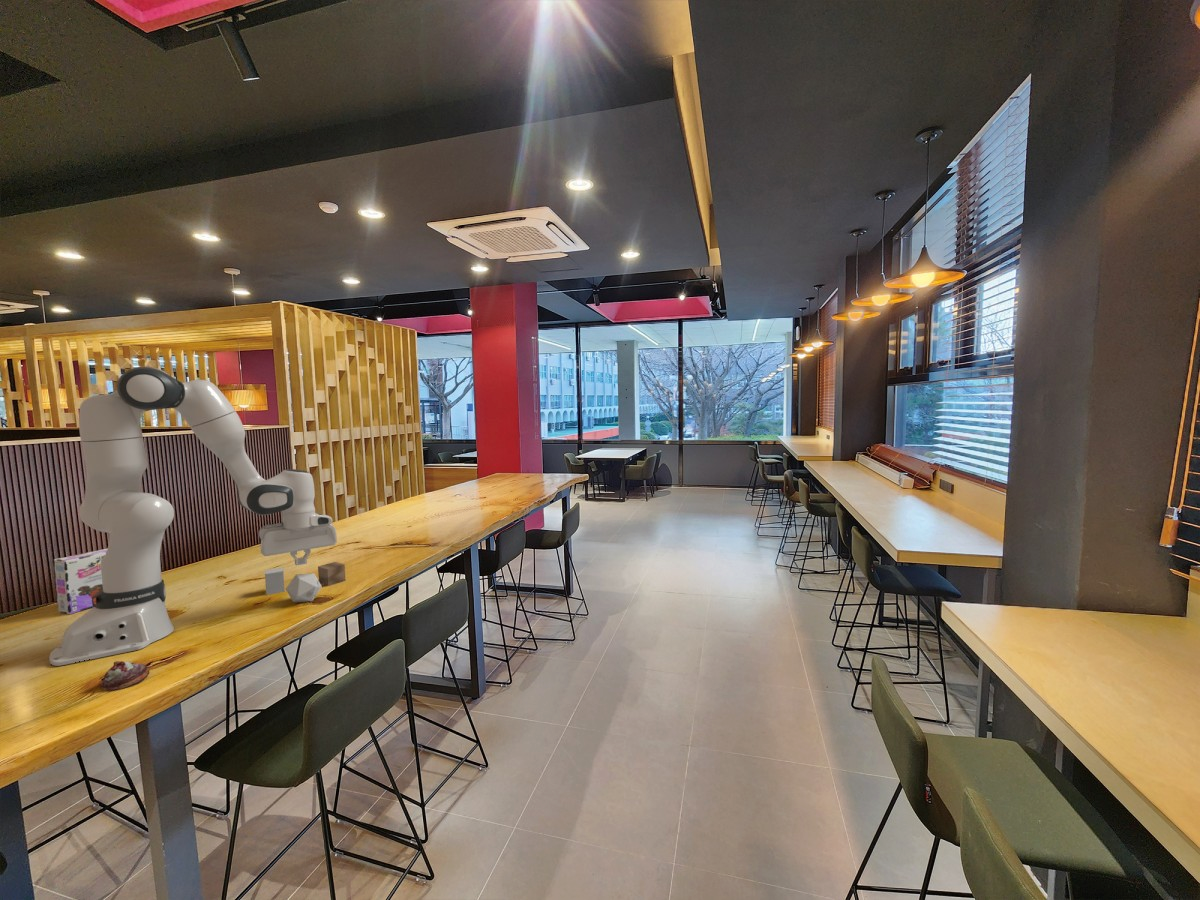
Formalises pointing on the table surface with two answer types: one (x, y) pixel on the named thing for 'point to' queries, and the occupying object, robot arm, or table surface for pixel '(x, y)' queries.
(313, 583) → the die
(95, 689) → the table surface
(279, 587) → the grey plastic block
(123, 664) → the pastry
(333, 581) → the walnut cube
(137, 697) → the table surface
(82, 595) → the candy box
